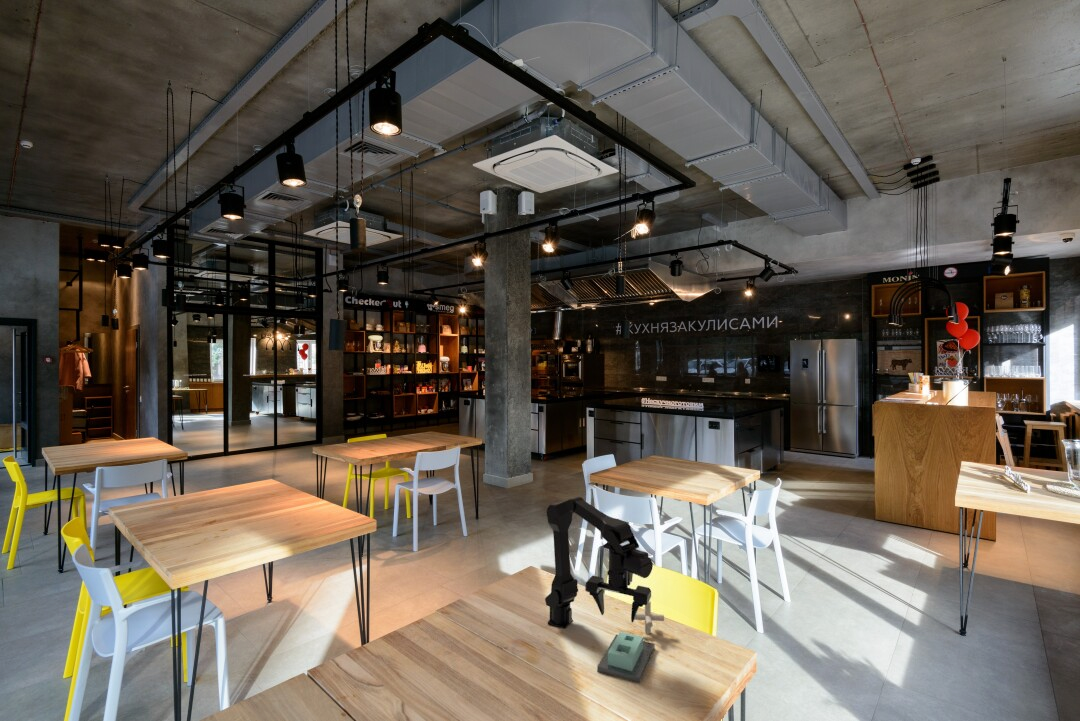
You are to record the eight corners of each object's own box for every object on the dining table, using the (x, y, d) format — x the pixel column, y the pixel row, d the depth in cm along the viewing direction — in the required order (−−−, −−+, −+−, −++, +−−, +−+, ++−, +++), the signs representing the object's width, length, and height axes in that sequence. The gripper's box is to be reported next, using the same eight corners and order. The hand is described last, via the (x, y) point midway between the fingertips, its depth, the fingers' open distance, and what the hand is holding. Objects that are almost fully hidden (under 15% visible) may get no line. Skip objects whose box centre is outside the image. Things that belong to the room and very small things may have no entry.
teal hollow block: (632, 671, 140) (632, 658, 140) (607, 664, 143) (607, 652, 143) (643, 648, 151) (643, 636, 151) (620, 642, 154) (620, 631, 154)
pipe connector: (661, 625, 167) (661, 594, 167) (666, 642, 157) (666, 609, 157) (630, 623, 168) (630, 593, 168) (633, 640, 158) (633, 608, 158)
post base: (597, 671, 143) (597, 657, 142) (616, 639, 159) (616, 626, 159) (639, 683, 137) (639, 668, 137) (654, 648, 154) (654, 635, 154)
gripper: (656, 561, 154) (655, 612, 154) (597, 550, 162) (596, 599, 162) (646, 576, 143) (646, 631, 144) (585, 563, 152) (584, 615, 152)
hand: (617, 618), depth 151 cm, fingers open, 9 cm apart
